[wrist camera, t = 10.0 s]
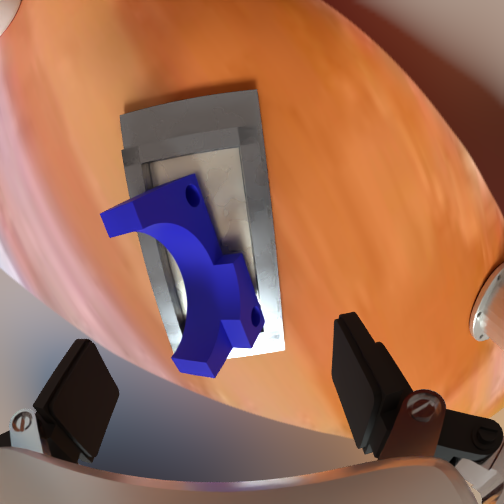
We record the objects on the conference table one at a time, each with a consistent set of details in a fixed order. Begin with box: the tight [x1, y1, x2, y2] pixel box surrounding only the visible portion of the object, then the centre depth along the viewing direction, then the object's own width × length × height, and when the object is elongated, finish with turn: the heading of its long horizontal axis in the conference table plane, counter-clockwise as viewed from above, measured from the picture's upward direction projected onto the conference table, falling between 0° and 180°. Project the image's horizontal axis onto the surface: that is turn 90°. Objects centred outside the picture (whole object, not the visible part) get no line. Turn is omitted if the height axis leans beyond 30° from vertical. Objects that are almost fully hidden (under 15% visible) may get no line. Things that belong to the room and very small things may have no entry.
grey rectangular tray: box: [120, 89, 285, 358], centre depth 21 cm, size 10×22×3 cm, turn 7°
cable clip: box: [100, 173, 265, 378], centre depth 18 cm, size 12×4×6 cm, turn 16°
